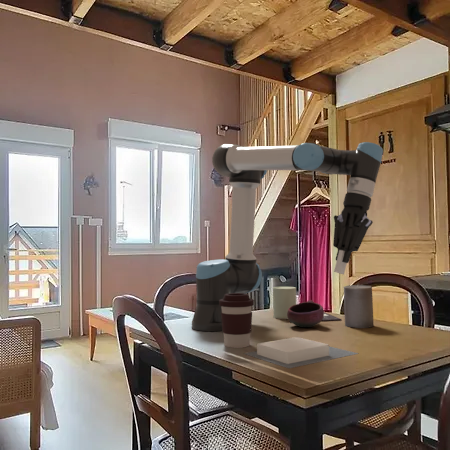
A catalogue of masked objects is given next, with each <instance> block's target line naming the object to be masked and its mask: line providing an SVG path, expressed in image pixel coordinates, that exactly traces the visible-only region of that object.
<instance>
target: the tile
mask: <svg viewBox="0 0 450 450" xmlns="http://www.w3.org/2000/svg"><path fill="white" fill-rule="evenodd" d="M329 346H330V344H328V343H324V342H320V341H315V340H313V339H307V338H302V337H299V336H294V337H289V338H282V339H277V340H272V341H265V342H258V343H256V351H257V354H258V355H261V356H264V357H267V358H270V359H273V360H277V361H280V362H283V363H286V364H290V363H295V362H300V361H305V360H310V359H314V358H319V357H324V356H329Z"/></svg>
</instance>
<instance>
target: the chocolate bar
mask: <svg viewBox="0 0 450 450" xmlns="http://www.w3.org/2000/svg"><path fill="white" fill-rule="evenodd" d="M339 321H340V322H341V321H342V318H340V317H337V316H334V315H333V314H329V313H327V312H324V317H323V319H322V321H321V322H339Z"/></svg>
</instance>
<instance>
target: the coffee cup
mask: <svg viewBox="0 0 450 450" xmlns="http://www.w3.org/2000/svg"><path fill="white" fill-rule="evenodd" d="M254 304H255V300H254V299H253V298H250V296H249V294H248V293H246V294H245V293H229V294H225V295H224V298H223V299H220V300H219V305H220V306H221V308H222V312H221V318H222V330H223V331H222V333H223V344H224V345H223V346H225V347H227V348H235V349H237V348H245V347H246V348H247V347H249V346H250V345H251V333H252V325H253V324H252V323H253V311H252V310H253V309H252V307H253V306H254Z"/></svg>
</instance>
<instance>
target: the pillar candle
mask: <svg viewBox="0 0 450 450" xmlns="http://www.w3.org/2000/svg"><path fill="white" fill-rule="evenodd" d="M343 300H344V301H343V302H344V305H343V306H344V308H343V309H344V325H345V327H347V328H356V329H368V328H371V327H372V328H373V327H374V304H373V303H374V302H373V300H374V299H373V288H372V286H371V285H365V284H364V285H363V284H361V285H360V284H359V282H358V283H357V284H354V285H344V286H343Z"/></svg>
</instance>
